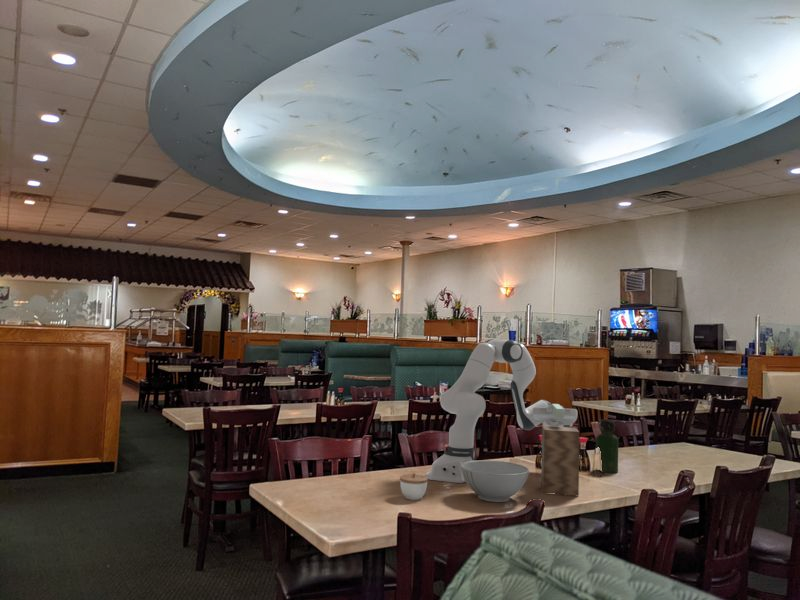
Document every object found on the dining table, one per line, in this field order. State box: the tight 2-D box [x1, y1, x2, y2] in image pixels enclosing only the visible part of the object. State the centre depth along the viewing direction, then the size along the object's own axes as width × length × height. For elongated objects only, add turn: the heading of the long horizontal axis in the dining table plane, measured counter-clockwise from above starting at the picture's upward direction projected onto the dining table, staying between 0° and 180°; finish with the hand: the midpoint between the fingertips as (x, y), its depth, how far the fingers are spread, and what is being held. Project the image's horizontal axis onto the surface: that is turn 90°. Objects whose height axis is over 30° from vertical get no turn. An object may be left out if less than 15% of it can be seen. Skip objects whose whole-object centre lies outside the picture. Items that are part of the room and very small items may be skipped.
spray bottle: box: [595, 418, 619, 474], centre depth 302 cm, size 10×10×25 cm
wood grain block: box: [540, 425, 580, 496], centre depth 256 cm, size 14×12×26 cm
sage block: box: [551, 403, 565, 419], centre depth 270 cm, size 3×21×4 cm, turn 171°
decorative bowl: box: [461, 460, 530, 503], centre depth 241 cm, size 27×27×12 cm
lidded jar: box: [399, 472, 429, 501], centre depth 237 cm, size 11×11×9 cm
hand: (556, 407), depth 277 cm, fingers closed on sage block, 3 cm apart
